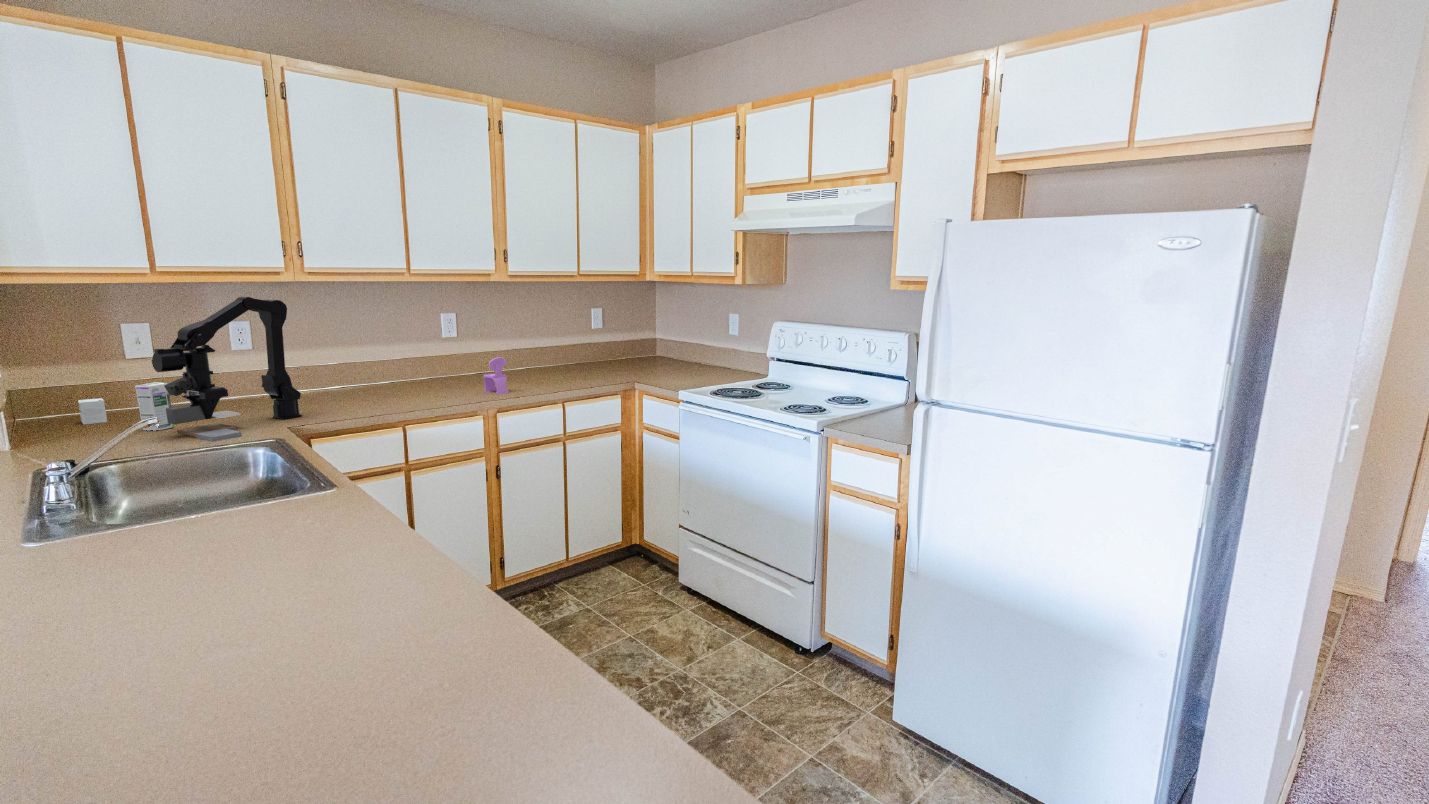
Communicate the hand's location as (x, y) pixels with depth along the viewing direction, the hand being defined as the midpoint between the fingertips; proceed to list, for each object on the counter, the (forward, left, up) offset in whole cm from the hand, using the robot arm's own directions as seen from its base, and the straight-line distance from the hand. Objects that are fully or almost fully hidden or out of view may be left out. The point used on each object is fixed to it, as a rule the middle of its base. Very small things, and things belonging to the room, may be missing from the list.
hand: (204, 418), depth 207 cm
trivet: (0, 0, -4) cm, 4 cm away
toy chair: (-96, +25, -5) cm, 99 cm away
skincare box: (+10, -47, -5) cm, 49 cm away
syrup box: (+5, -17, -4) cm, 19 cm away
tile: (-2, +11, -4) cm, 11 cm away
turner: (0, 0, 0) cm, 0 cm away
